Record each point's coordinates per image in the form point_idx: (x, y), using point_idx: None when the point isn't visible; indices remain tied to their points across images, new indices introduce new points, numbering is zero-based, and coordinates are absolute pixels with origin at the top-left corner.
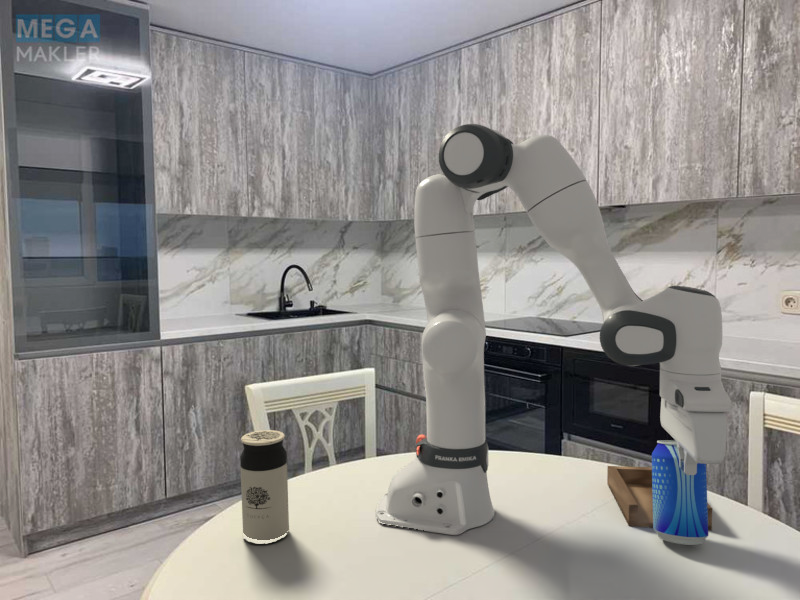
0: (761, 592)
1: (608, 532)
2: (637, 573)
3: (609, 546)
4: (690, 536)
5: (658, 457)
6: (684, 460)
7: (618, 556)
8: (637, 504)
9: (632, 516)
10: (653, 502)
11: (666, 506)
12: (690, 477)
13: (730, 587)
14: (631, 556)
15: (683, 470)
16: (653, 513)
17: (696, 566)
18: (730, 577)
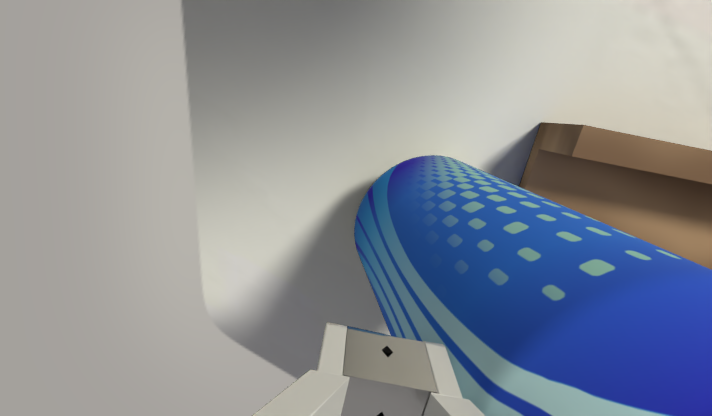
0: (204, 270)
1: (516, 38)
2: (276, 24)
3: (429, 3)
4: (355, 224)
5: (613, 280)
6: (318, 391)
7: (368, 7)
8: (575, 156)
9: (553, 134)
10: (489, 175)
11: (415, 194)
12: None
13: (220, 222)
14: (366, 48)
15: (354, 331)
16: (470, 167)
17: (307, 196)
18: (260, 244)
